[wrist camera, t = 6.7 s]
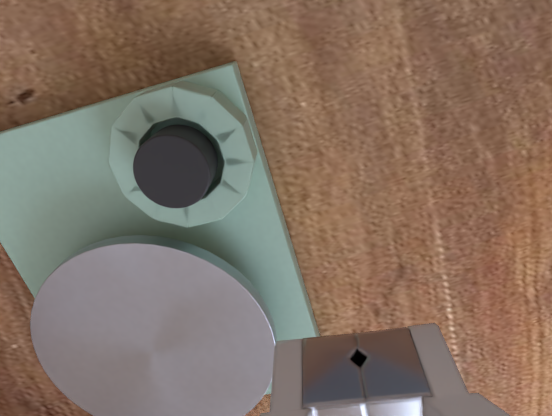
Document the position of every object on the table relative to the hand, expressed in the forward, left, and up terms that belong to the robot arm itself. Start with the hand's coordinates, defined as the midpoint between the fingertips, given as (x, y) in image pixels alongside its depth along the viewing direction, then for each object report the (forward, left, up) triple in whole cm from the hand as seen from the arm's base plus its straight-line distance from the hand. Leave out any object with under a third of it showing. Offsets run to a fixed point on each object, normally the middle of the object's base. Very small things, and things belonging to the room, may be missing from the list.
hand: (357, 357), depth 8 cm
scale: (+4, -10, -13) cm, 17 cm away
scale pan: (+6, -10, -10) cm, 16 cm away
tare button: (-2, -6, -10) cm, 12 cm away
